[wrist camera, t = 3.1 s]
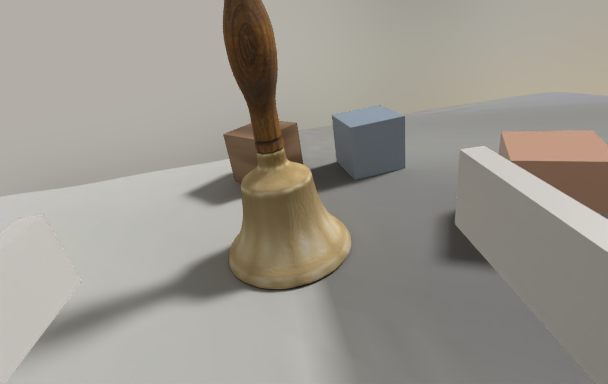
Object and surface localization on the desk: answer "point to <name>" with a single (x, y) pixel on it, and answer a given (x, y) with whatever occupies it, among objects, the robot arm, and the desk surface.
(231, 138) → the walnut block
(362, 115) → the slate-blue block
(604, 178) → the terracotta block
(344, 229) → the hand bell
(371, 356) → the desk surface
